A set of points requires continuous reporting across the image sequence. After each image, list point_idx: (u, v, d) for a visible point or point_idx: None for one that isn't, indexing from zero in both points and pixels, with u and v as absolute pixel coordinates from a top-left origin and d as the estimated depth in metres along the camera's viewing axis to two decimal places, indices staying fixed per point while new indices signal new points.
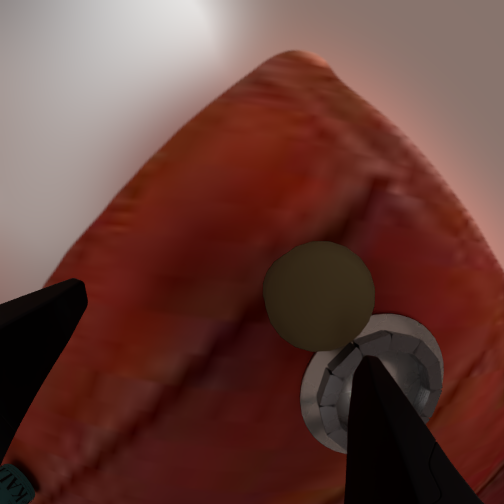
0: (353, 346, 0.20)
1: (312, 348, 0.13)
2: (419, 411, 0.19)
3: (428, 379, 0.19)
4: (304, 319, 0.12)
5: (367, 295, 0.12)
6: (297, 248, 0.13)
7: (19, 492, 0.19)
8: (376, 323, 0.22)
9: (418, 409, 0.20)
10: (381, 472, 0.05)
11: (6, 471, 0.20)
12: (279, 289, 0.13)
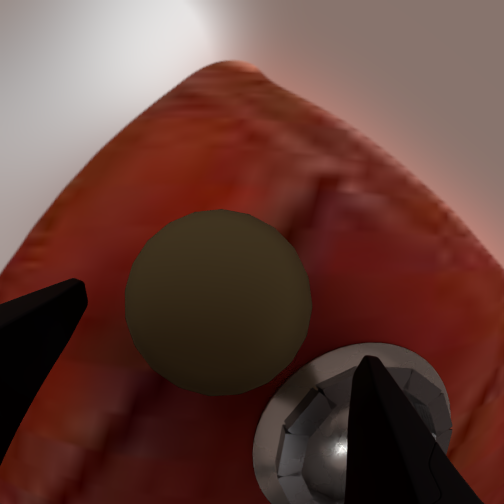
0: (315, 392, 0.14)
1: (199, 388, 0.07)
2: None
3: (431, 419, 0.13)
4: (172, 331, 0.07)
5: (289, 282, 0.07)
6: (168, 224, 0.08)
7: None
8: (346, 358, 0.16)
9: None
10: (381, 472, 0.05)
11: None
12: (132, 283, 0.07)
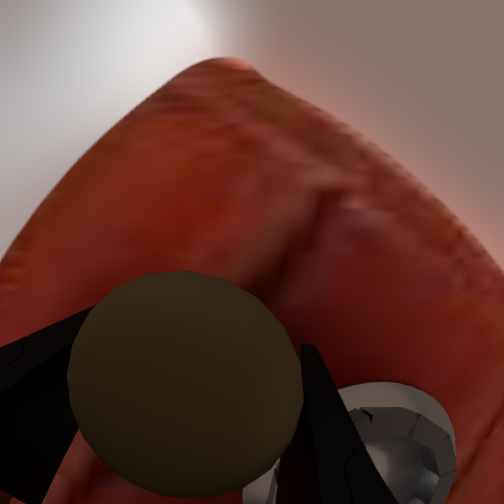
0: None
1: (161, 494, 0.04)
2: (425, 502, 0.10)
3: (435, 462, 0.10)
4: (118, 442, 0.04)
5: (270, 389, 0.05)
6: (115, 288, 0.06)
7: None
8: (346, 400, 0.14)
9: (424, 500, 0.10)
10: (298, 467, 0.05)
11: None
12: (71, 372, 0.05)
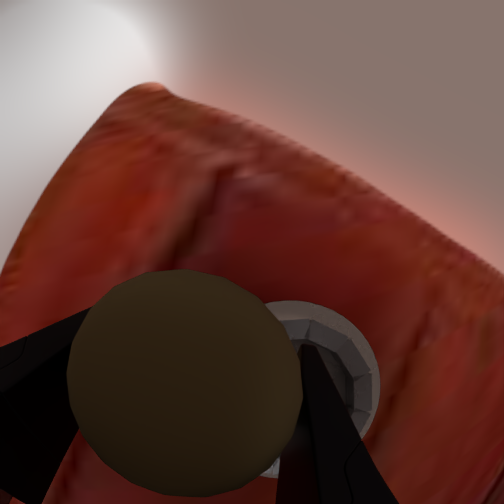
0: None
1: (159, 492, 0.04)
2: (352, 407, 0.17)
3: (344, 365, 0.17)
4: (117, 440, 0.04)
5: (269, 387, 0.05)
6: (114, 287, 0.06)
7: None
8: None
9: (351, 405, 0.17)
10: (298, 467, 0.05)
11: None
12: (70, 371, 0.05)
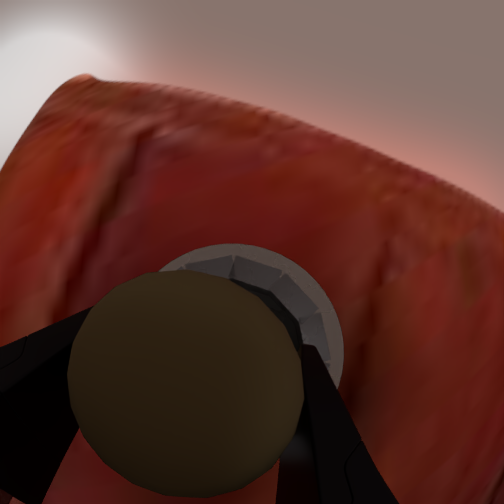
0: None
1: (161, 493, 0.04)
2: None
3: (284, 305, 0.15)
4: (118, 440, 0.04)
5: (271, 387, 0.05)
6: (115, 287, 0.06)
7: None
8: None
9: None
10: (298, 467, 0.05)
11: None
12: (71, 371, 0.05)
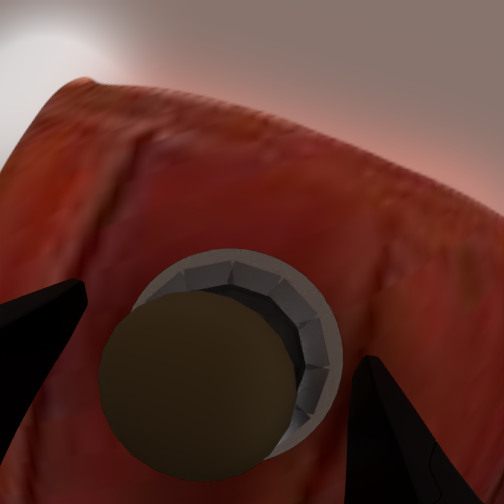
0: None
1: (178, 477, 0.06)
2: (304, 364, 0.15)
3: (283, 310, 0.15)
4: (145, 434, 0.05)
5: (269, 389, 0.06)
6: (138, 306, 0.07)
7: None
8: None
9: (303, 362, 0.15)
10: (381, 472, 0.05)
11: None
12: (103, 378, 0.06)
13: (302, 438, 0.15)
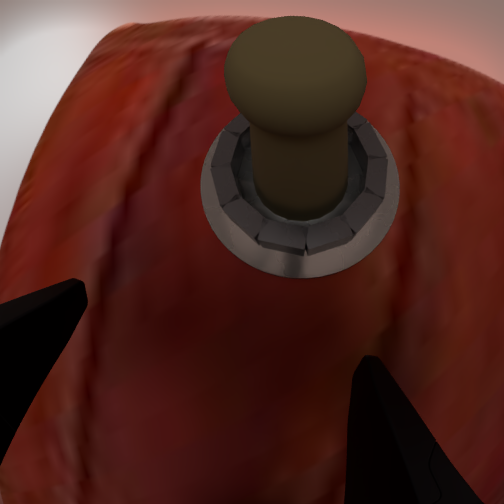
0: None
1: (297, 98, 0.08)
2: (366, 159, 0.16)
3: None
4: (271, 59, 0.08)
5: (345, 37, 0.08)
6: None
7: None
8: None
9: (364, 160, 0.17)
10: (381, 472, 0.05)
11: None
12: (234, 50, 0.09)
13: (379, 241, 0.17)
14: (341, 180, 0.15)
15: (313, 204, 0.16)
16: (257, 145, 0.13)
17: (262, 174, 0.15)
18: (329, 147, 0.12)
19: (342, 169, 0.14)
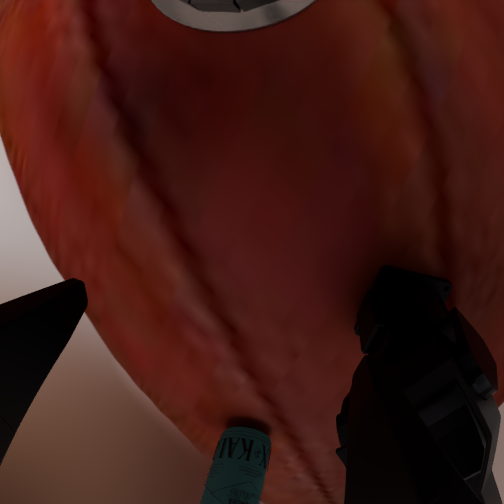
0: None
1: None
2: None
3: None
4: None
5: None
6: None
7: (244, 447, 0.28)
8: None
9: None
10: (381, 472, 0.05)
11: (221, 442, 0.30)
12: None
13: None
14: None
15: None
16: None
17: None
18: None
19: None
